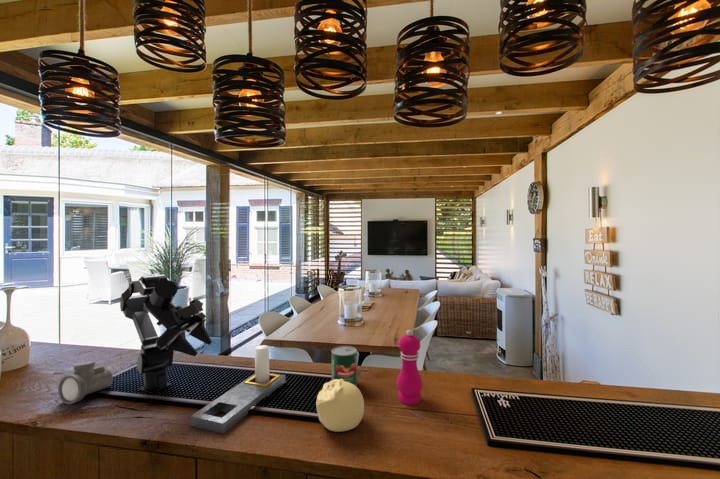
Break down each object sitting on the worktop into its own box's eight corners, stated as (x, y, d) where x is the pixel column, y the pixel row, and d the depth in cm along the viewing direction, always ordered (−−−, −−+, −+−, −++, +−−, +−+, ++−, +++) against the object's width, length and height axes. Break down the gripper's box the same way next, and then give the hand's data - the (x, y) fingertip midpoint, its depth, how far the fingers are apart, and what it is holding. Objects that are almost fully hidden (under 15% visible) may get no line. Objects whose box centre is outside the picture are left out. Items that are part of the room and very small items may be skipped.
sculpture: (319, 411, 93) (319, 372, 92) (364, 412, 92) (364, 372, 92) (312, 438, 81) (311, 392, 81) (363, 438, 81) (363, 393, 80)
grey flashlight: (77, 406, 96) (77, 367, 97) (56, 404, 98) (56, 367, 99) (118, 391, 107) (118, 356, 108) (98, 390, 109) (99, 356, 110)
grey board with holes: (223, 433, 83) (222, 422, 83) (190, 426, 86) (190, 415, 86) (285, 383, 110) (285, 374, 109) (258, 378, 113) (258, 370, 113)
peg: (254, 391, 104) (253, 350, 104) (256, 385, 108) (255, 345, 108) (268, 390, 105) (267, 349, 104) (270, 384, 109) (269, 344, 108)
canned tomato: (342, 393, 102) (341, 357, 102) (326, 384, 108) (326, 350, 108) (362, 385, 108) (362, 350, 107) (346, 377, 113) (346, 344, 113)
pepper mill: (425, 396, 101) (425, 327, 100) (418, 408, 94) (418, 335, 93) (401, 391, 104) (401, 325, 103) (393, 402, 97) (392, 332, 96)
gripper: (165, 299, 92) (208, 340, 92) (199, 286, 111) (234, 320, 111) (137, 329, 93) (179, 369, 93) (175, 311, 111) (210, 345, 112)
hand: (203, 349), depth 102 cm, fingers open, 9 cm apart
